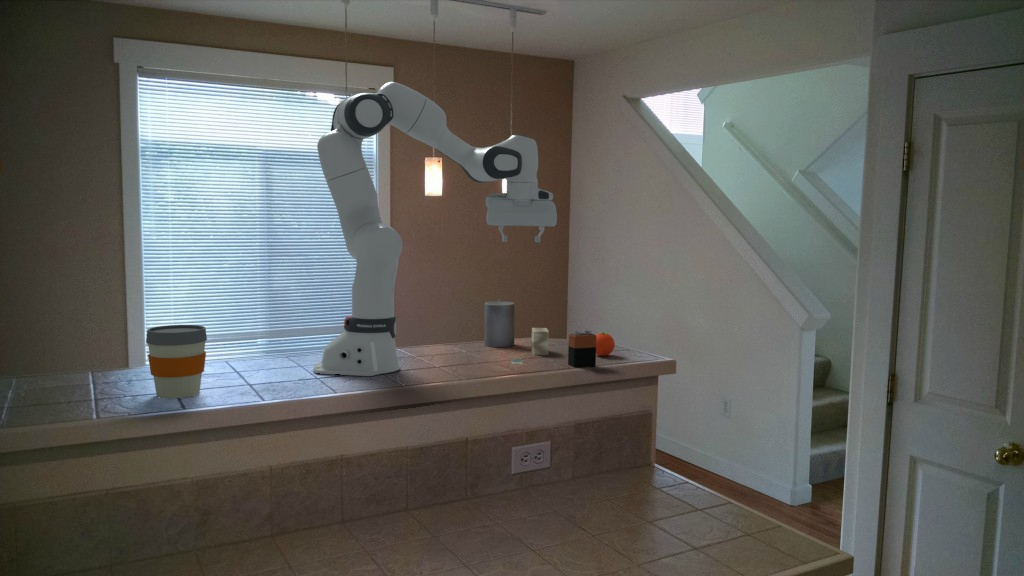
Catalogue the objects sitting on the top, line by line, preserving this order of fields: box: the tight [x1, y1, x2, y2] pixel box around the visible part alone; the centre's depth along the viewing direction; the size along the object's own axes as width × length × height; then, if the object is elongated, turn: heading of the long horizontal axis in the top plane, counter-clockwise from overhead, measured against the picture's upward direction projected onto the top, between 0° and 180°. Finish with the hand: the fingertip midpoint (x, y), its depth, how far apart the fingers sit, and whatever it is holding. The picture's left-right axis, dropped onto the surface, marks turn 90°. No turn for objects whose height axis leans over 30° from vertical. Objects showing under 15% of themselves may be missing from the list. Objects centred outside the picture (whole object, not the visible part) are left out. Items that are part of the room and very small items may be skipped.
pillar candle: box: [483, 299, 515, 348], centre depth 243 cm, size 10×10×15 cm
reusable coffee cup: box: [145, 324, 208, 400], centre depth 171 cm, size 13×12×15 cm
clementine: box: [595, 331, 616, 357], centre depth 229 cm, size 8×7×7 cm
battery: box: [567, 329, 597, 368], centre depth 211 cm, size 4×7×10 cm, turn 113°
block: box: [530, 327, 550, 356], centre depth 229 cm, size 4×8×7 cm, turn 3°
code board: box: [510, 359, 523, 365], centre depth 214 cm, size 13×12×1 cm
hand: (521, 242), depth 217 cm, fingers open, 8 cm apart
